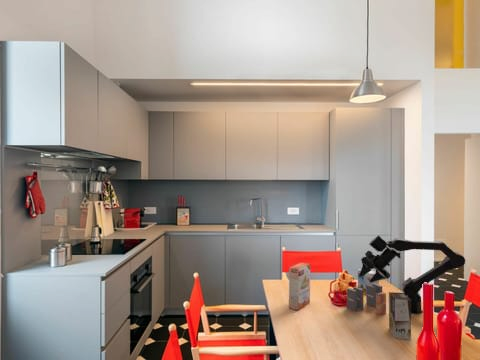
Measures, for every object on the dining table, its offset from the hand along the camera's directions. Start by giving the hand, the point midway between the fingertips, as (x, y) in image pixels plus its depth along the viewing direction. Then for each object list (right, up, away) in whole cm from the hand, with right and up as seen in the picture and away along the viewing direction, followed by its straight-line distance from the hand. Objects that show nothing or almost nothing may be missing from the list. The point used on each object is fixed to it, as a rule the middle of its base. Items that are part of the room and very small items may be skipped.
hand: (364, 279), depth 162 cm
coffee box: (+1, -13, -33) cm, 35 cm away
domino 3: (+3, -13, -2) cm, 14 cm away
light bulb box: (+12, -14, +25) cm, 31 cm away
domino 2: (-5, -13, -5) cm, 15 cm away
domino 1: (-10, -13, -7) cm, 18 cm away
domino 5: (+3, -13, -13) cm, 18 cm away
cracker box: (-35, -13, -2) cm, 37 cm away
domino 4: (+7, -13, 0) cm, 15 cm away
